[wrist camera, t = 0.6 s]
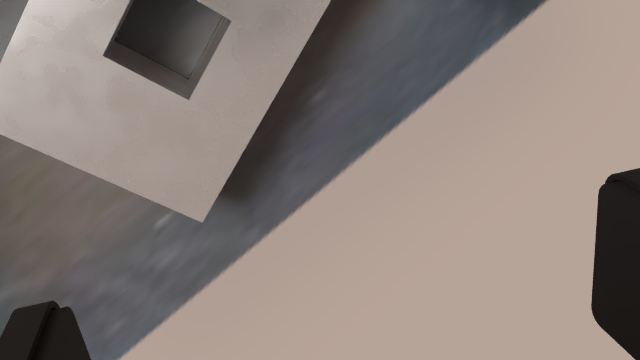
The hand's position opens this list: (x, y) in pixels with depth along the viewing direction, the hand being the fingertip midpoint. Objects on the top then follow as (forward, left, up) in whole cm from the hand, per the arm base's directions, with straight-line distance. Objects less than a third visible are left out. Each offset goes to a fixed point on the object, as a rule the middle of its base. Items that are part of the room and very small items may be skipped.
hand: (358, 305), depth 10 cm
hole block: (+1, -4, -26) cm, 27 cm away
